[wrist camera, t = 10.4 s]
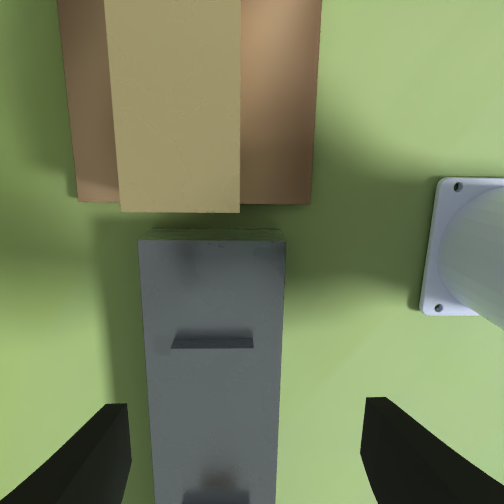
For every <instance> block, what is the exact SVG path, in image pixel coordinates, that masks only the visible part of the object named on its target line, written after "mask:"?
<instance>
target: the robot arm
mask: <svg viewBox="0 0 504 504" xmlns="http://www.w3.org/2000/svg"><path fill="white" fill-rule="evenodd" d="M456 183H458V184H459V188H458V189H457V190H456V191H455V190H454V185H455V184H456ZM437 304H439V305H440V306H439V308H438V309H434V308H435V306H436V305H437ZM419 309H420V311H421V312H422V313H423V314H425V315H428V316H483V317H484V318H486V319H487V320H489V321H490V322H492V323H494V324H495V325H497V326H498V327H500V328H501V329H503V330H504V178H468V177H445V178H442V179H441V180H440V181H439V182H438V184H437V188H436V195H435V201H434V208H433V215H432V222H431V229H430V235H429V242H428V249H427V256H426V263H425V270H424V276H423V283H422V290H421V297H420V304H419ZM360 454H361V458H362V461H363V464H364V467H365V470H366V474H367V477H368V479H369V482H370V485H371V488H372V491H373V493H374V495H375V498H376V500H377V502H378V504H504V485H502V484H501V483H499V482H498V481H496V480H495V479H493V478H492V477H490V476H489V475H487V474H486V473H484V472H483V471H482V470H480V469H479V468H477V467H476V466H475V465H473V464H472V463H470V462H469V461H468V460H466V459H465V458H463V457H462V456H461V455H459V454H458V453H457V452H455V451H454V450H453V449H451V448H450V447H449V446H447V445H446V444H445V443H443V442H442V441H441V440H440V439H438V438H437V437H436V436H434V435H433V434H432V433H431V432H429V431H428V430H427V429H426V428H424V427H423V426H422V425H421V424H419V423H418V422H417V421H416V420H414V419H413V418H412V417H411V416H409V415H408V414H407V413H406V412H404V411H403V410H402V409H401V408H399V407H398V406H397V405H396V404H394V403H393V402H392V401H390V400H389V399H388V398H386V397H367V398H366V404H365V413H364V422H363V431H362V440H361V449H360ZM131 462H132V459H131V447H130V435H129V423H128V411H127V403H124V404H105V405H104V406H103V407H102V408H101V409H100V410H99V411H98V412H97V413H96V414H95V415H94V416H93V417H92V418H91V419H90V420H89V421H88V422H87V423H86V424H85V425H84V426H83V427H81V428H80V429H79V430H78V431H77V432H76V433H75V434H74V435H73V436H72V437H71V438H70V439H69V440H68V441H67V442H66V443H65V444H64V445H63V446H62V447H61V448H60V449H59V450H58V451H57V452H55V453H54V454H53V455H52V456H51V457H50V458H49V459H48V460H47V461H46V462H45V463H44V464H43V465H41V466H40V467H39V468H38V469H37V470H36V471H35V472H33V473H32V474H31V475H30V476H29V477H28V478H27V479H25V480H24V481H23V482H22V483H21V484H20V485H19V486H17V487H16V488H15V489H14V490H13V491H12V492H10V493H9V494H8V495H7V496H5V497H4V498H3V499H2V500H0V504H121V502H122V499H123V495H124V491H125V487H126V483H127V479H128V474H129V470H130V466H131Z"/></svg>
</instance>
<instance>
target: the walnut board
mask: <svg viewBox="0 0 504 504" xmlns="http://www.w3.org/2000/svg"><path fill="white" fill-rule="evenodd" d="M57 6H58V16H59V25H60V34H61V43H62V53H63V62H64V71H65V81H66V90H67V99H68V109H69V118H70V127H71V137H72V146H73V155H74V165H75V174H76V183H77V193H78V202H120V194H119V181H118V169H117V156H116V144H115V132H114V119H113V107H112V94H111V82H110V70H109V57H108V45H107V32H106V20H105V8H104V0H57ZM321 9H322V0H241V53H240V204H310V198H311V181H312V164H313V146H314V129H315V112H316V95H317V78H318V61H319V43H320V26H321Z"/></svg>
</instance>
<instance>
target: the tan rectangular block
mask: <svg viewBox="0 0 504 504" xmlns="http://www.w3.org/2000/svg"><path fill="white" fill-rule="evenodd" d="M104 8H105V20H106V32H107V45H108V57H109V70H110V82H111V94H112V107H113V119H114V132H115V144H116V156H117V169H118V181H119V194H120V206H121V212H185V213H240V53H241V0H104Z"/></svg>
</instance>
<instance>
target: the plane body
mask: <svg viewBox="0 0 504 504" xmlns="http://www.w3.org/2000/svg"><path fill="white" fill-rule="evenodd" d="M138 255H139V270H140V284H141V299H142V314H143V329H144V344H145V359H146V374H147V389H148V404H149V419H150V434H151V449H152V464H153V479H154V493H155V504H275V496H276V472H277V449H278V425H279V401H280V378H281V354H282V330H283V307H284V283H285V259H286V240H285V238H284V237H283V235H282V233H281V232H280V230H279V229H190V228H152V229H151V230H150V231H148V232H147V233H146V234H145V235H143V236H142V237H141V238H140V239H138Z"/></svg>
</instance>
